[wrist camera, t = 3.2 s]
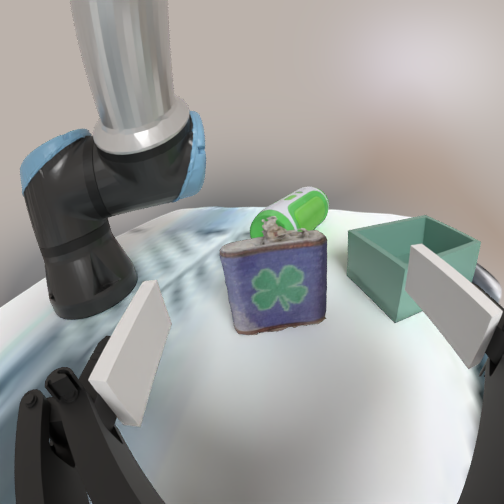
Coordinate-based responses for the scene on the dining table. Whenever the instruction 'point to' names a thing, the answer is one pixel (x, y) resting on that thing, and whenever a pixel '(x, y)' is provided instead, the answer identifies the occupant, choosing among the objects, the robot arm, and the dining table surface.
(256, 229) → the speaker
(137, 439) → the dining table surface
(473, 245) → the open box
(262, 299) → the flask
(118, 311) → the dining table surface
